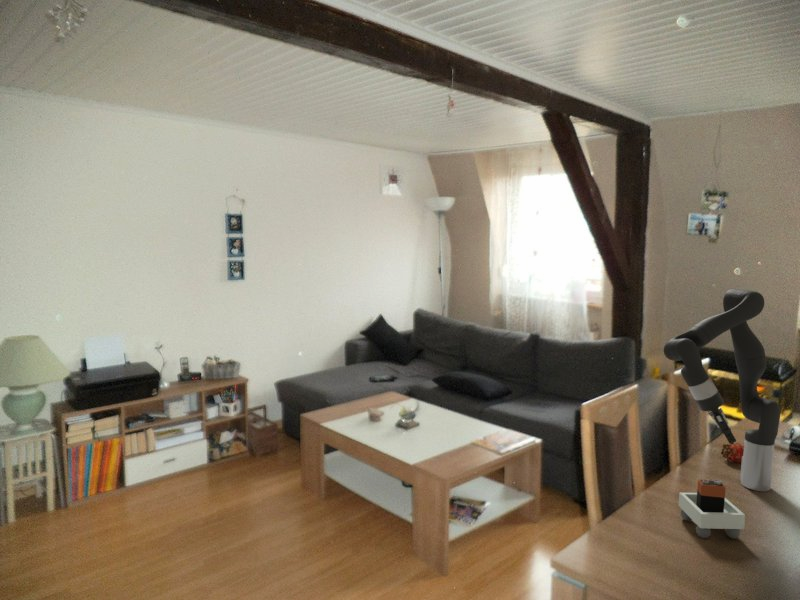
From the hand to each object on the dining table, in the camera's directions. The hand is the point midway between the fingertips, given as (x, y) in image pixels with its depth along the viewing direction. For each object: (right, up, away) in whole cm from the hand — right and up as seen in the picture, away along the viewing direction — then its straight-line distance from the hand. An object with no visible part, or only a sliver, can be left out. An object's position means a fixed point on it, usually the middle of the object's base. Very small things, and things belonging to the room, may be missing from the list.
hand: (730, 437), depth 181 cm
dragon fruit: (+28, -21, +45) cm, 58 cm away
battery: (-11, -21, -8) cm, 25 cm away
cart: (-11, -27, -7) cm, 30 cm away
